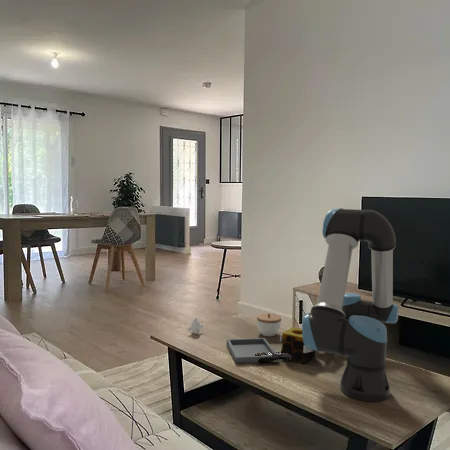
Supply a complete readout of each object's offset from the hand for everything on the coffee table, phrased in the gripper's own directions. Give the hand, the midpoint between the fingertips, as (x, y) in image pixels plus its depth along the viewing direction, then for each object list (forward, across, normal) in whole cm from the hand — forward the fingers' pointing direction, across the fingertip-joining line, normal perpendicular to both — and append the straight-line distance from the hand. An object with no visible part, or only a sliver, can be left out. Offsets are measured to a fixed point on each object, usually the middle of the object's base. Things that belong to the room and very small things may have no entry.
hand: (291, 343), depth 168 cm
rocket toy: (+18, +43, -6) cm, 47 cm away
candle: (-3, 0, -6) cm, 7 cm away
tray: (+10, +12, -6) cm, 17 cm away
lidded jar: (-10, +28, -6) cm, 30 cm away
